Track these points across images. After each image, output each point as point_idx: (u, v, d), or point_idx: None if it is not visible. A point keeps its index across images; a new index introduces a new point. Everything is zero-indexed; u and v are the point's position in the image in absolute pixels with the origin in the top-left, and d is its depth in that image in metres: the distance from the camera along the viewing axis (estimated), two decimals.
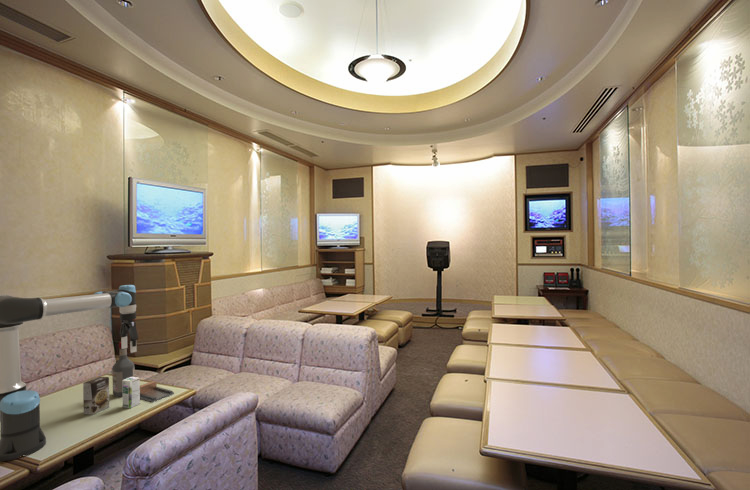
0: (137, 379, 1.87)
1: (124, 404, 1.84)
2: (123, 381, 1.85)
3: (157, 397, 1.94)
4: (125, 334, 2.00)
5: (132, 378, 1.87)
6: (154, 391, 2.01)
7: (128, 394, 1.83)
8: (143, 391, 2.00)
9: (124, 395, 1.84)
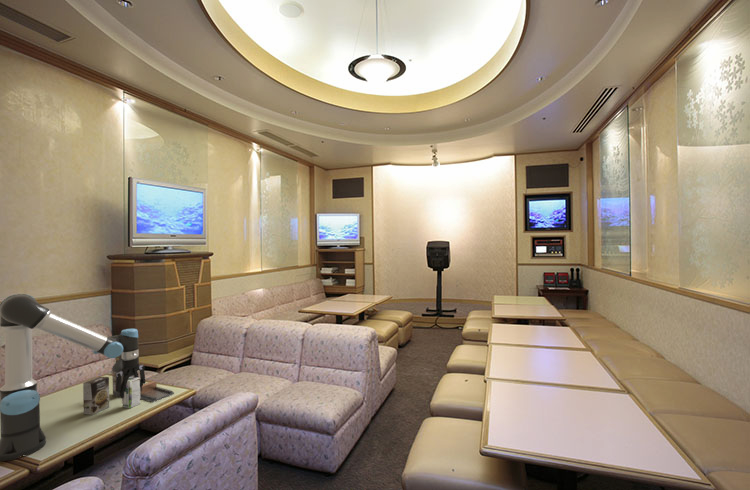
0: (137, 379, 1.87)
1: (124, 404, 1.84)
2: None
3: (157, 397, 1.94)
4: None
5: (132, 378, 1.87)
6: (154, 391, 2.01)
7: (128, 394, 1.83)
8: (143, 391, 2.00)
9: None
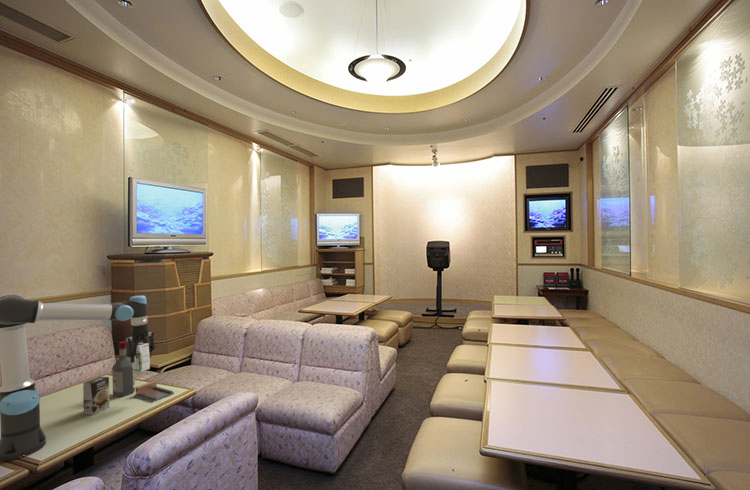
0: (146, 345, 1.91)
1: (134, 369, 1.88)
2: None
3: (157, 397, 1.94)
4: None
5: (141, 343, 1.91)
6: (154, 391, 2.01)
7: (138, 359, 1.87)
8: (143, 391, 2.00)
9: None
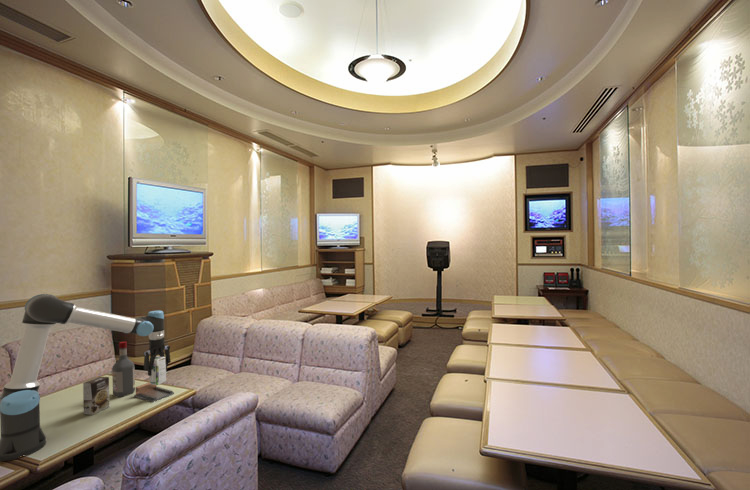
0: (163, 358, 1.98)
1: (151, 381, 1.95)
2: None
3: (157, 397, 1.94)
4: None
5: (158, 357, 1.98)
6: (154, 391, 2.01)
7: (155, 372, 1.94)
8: (143, 391, 2.00)
9: None
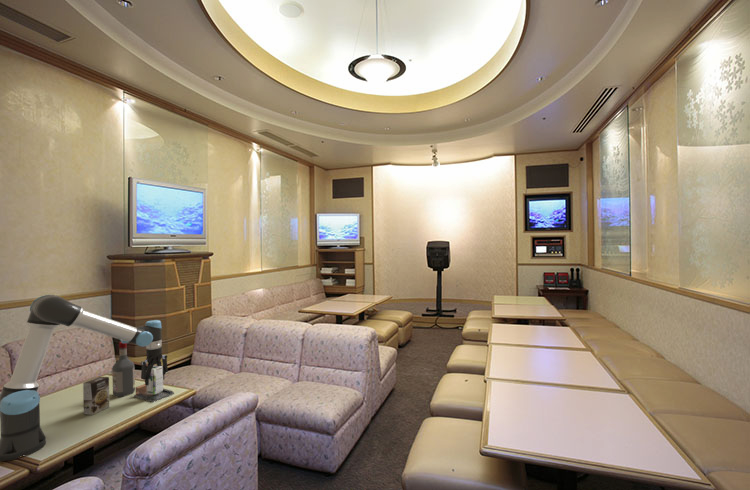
0: (160, 367, 1.99)
1: (148, 391, 1.96)
2: None
3: (157, 397, 1.94)
4: None
5: (155, 366, 1.99)
6: None
7: (152, 381, 1.95)
8: (143, 391, 2.00)
9: None
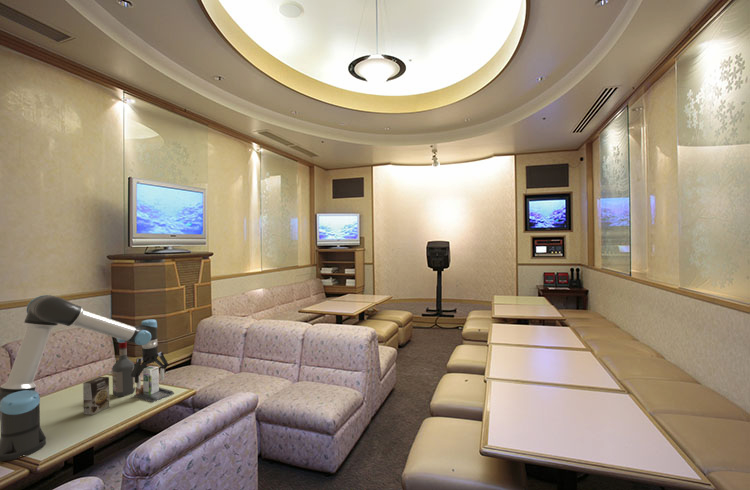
0: (156, 368, 2.01)
1: (144, 391, 1.98)
2: (144, 370, 1.99)
3: (157, 397, 1.94)
4: (162, 366, 2.06)
5: (151, 367, 2.01)
6: None
7: (148, 382, 1.97)
8: None
9: (145, 382, 1.98)
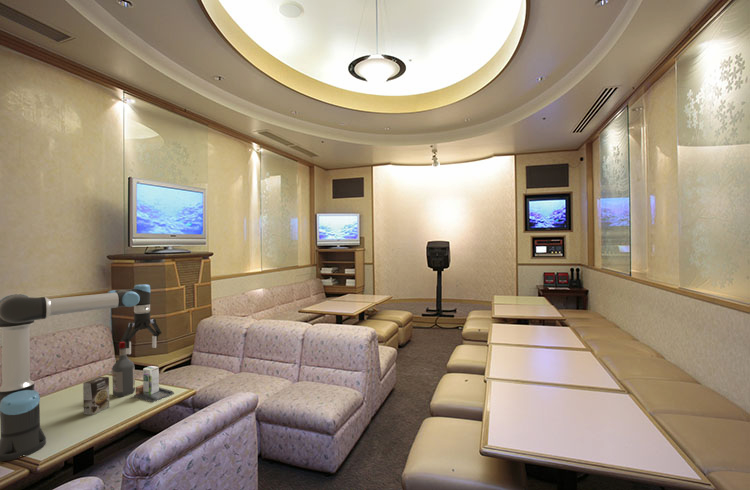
0: (156, 368, 2.01)
1: (144, 391, 1.98)
2: (144, 370, 1.99)
3: (157, 397, 1.94)
4: (154, 334, 1.99)
5: (151, 367, 2.01)
6: None
7: (148, 382, 1.97)
8: None
9: (145, 382, 1.98)
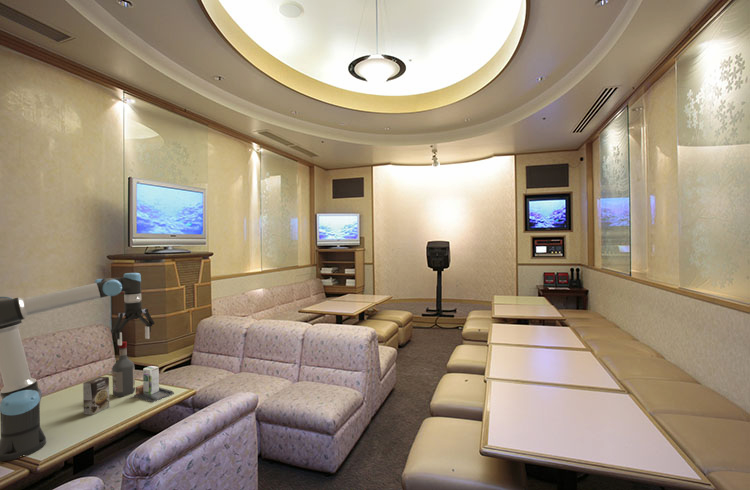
0: (156, 368, 2.01)
1: (144, 391, 1.98)
2: (144, 370, 1.99)
3: (157, 397, 1.94)
4: (146, 324, 1.90)
5: (151, 367, 2.01)
6: None
7: (148, 382, 1.97)
8: None
9: (145, 382, 1.98)
